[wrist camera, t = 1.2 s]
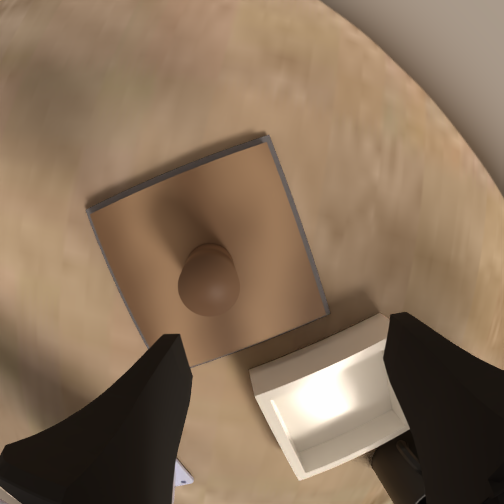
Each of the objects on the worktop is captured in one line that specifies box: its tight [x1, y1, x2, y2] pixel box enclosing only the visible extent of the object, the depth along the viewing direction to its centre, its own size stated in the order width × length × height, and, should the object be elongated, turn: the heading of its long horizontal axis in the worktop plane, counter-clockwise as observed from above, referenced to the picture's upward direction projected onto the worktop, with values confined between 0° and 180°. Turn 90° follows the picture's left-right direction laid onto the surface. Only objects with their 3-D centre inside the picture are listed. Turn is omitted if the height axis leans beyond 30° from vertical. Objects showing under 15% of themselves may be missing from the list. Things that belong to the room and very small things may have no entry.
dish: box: [249, 313, 410, 481], centre depth 22 cm, size 11×11×4 cm
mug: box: [372, 429, 426, 504], centre depth 22 cm, size 9×12×9 cm
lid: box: [90, 142, 326, 367], centre depth 17 cm, size 12×12×5 cm
